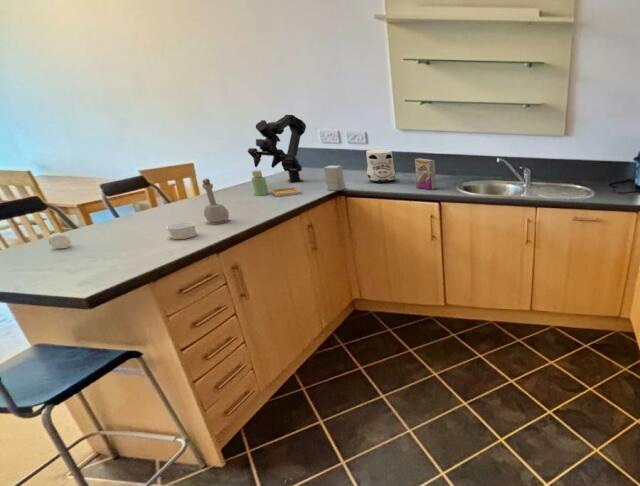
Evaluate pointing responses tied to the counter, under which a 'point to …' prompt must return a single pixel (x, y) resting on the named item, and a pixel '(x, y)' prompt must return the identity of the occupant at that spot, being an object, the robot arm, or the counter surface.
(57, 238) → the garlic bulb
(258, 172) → the cap
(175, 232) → the ramekin
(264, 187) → the bottle
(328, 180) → the white packaging box
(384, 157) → the cream face block
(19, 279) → the counter surface
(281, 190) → the tray
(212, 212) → the potion bottle
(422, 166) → the candy bar box
